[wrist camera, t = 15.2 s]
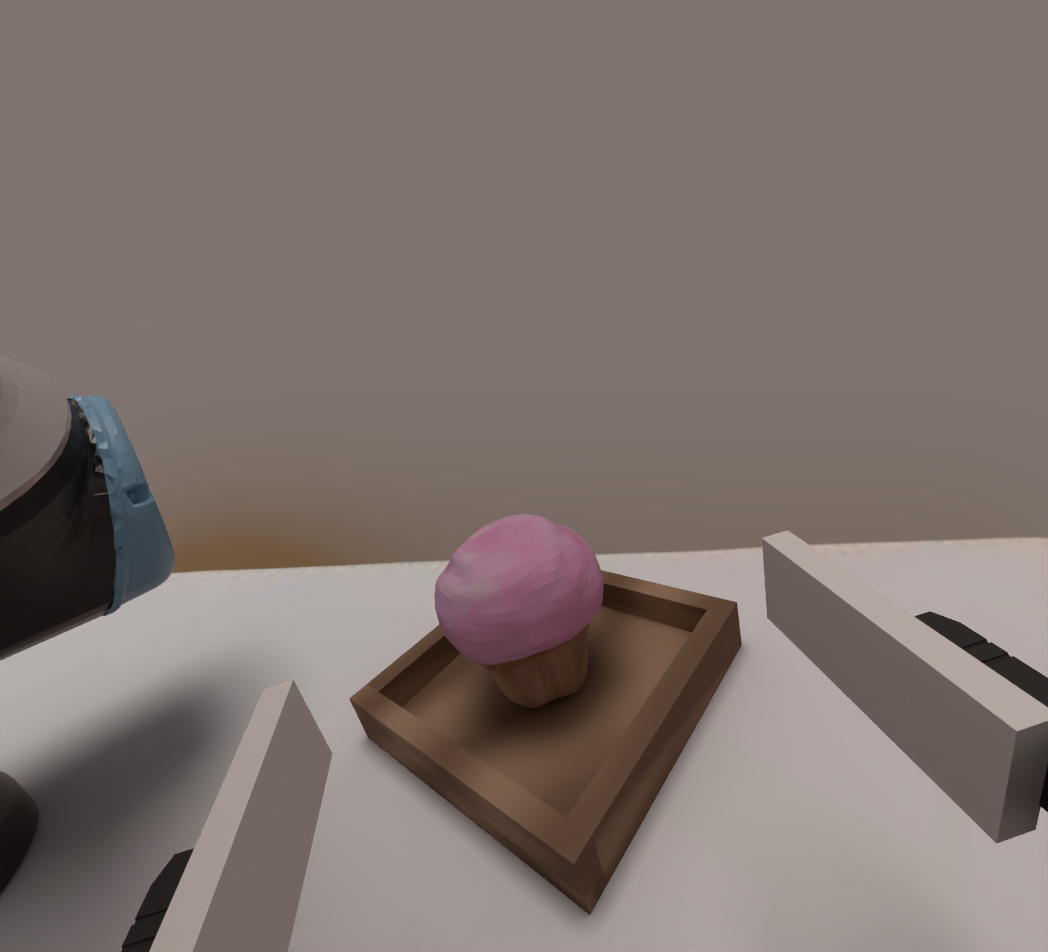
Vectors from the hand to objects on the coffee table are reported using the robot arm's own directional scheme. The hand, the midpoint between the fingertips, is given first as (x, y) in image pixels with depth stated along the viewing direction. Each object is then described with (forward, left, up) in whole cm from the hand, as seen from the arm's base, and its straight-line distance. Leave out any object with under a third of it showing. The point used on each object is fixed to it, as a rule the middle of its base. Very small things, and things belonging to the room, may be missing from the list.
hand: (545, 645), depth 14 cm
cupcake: (-9, +7, -12) cm, 17 cm away
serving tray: (-9, +8, -13) cm, 18 cm away
